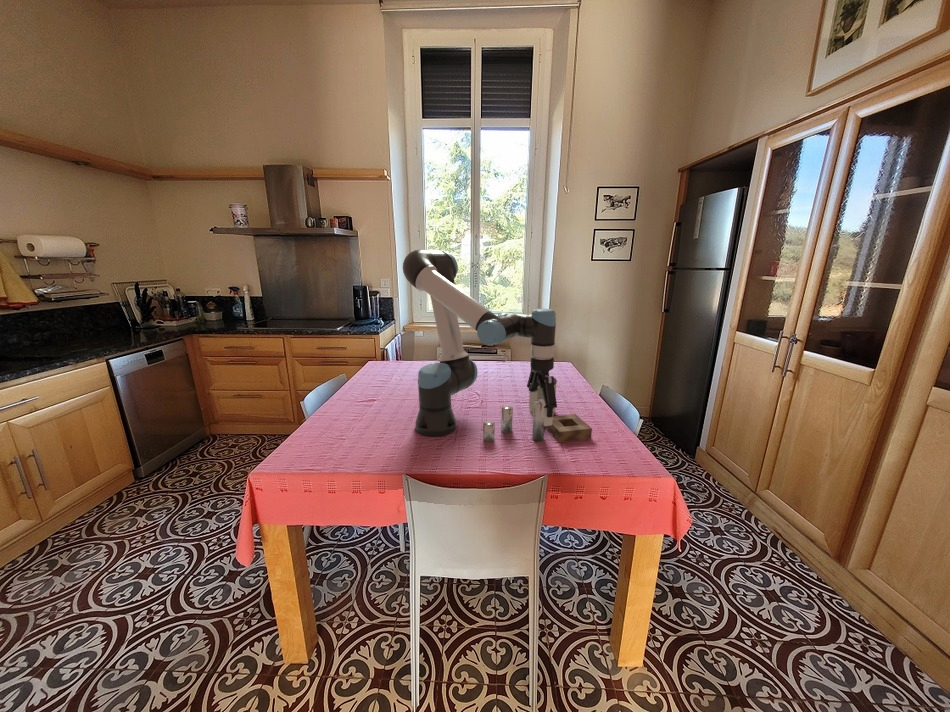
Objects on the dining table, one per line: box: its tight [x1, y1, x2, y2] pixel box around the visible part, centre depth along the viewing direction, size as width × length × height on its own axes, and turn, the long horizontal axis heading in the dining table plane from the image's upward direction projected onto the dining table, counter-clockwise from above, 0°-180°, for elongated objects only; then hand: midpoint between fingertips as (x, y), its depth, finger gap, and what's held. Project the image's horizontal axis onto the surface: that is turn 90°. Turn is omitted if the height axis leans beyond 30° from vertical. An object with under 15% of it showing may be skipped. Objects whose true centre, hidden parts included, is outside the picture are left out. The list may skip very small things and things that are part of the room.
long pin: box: [531, 399, 546, 442], centre depth 121 cm, size 4×4×14 cm
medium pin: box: [500, 405, 514, 434], centre depth 128 cm, size 4×4×9 cm
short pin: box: [482, 420, 496, 443], centre depth 122 cm, size 4×4×6 cm
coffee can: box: [529, 377, 558, 416], centre depth 143 cm, size 10×10×14 cm
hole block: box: [545, 413, 593, 443], centre depth 127 cm, size 12×12×4 cm
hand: (540, 416), depth 121 cm, fingers open, 13 cm apart
